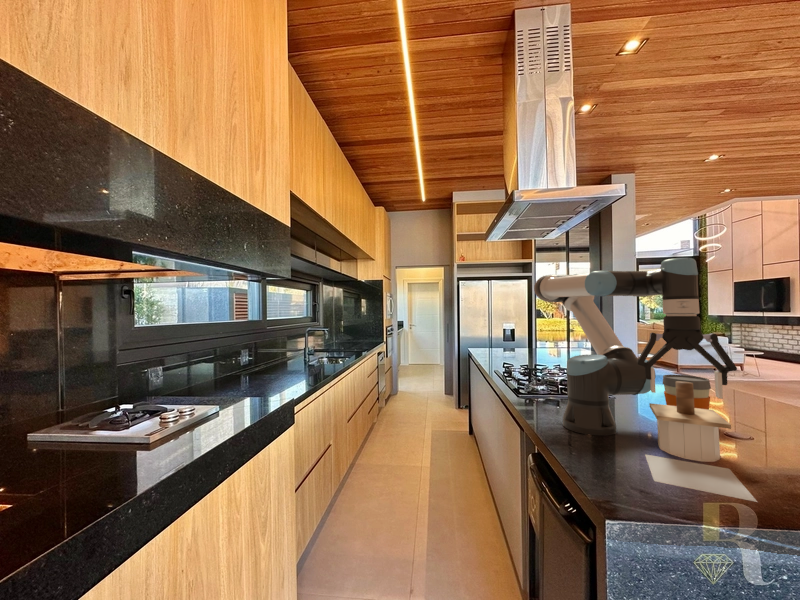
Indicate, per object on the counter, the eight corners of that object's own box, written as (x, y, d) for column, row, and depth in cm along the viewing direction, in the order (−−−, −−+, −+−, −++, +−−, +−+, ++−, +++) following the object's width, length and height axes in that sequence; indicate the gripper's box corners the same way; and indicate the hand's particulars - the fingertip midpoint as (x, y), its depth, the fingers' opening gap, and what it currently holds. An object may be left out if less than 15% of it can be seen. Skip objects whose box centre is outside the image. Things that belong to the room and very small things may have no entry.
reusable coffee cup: (707, 419, 114) (705, 376, 115) (717, 430, 103) (715, 382, 104) (661, 414, 121) (659, 373, 122) (666, 423, 110) (664, 378, 111)
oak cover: (657, 419, 85) (655, 384, 86) (649, 406, 97) (648, 376, 97) (731, 428, 78) (729, 390, 78) (713, 413, 90) (711, 380, 90)
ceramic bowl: (663, 456, 85) (661, 419, 85) (655, 441, 95) (654, 408, 96) (726, 467, 79) (724, 426, 79) (711, 449, 89) (709, 414, 89)
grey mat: (654, 482, 72) (654, 481, 72) (644, 455, 85) (644, 454, 85) (758, 504, 63) (757, 501, 63) (729, 470, 77) (729, 468, 77)
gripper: (626, 315, 92) (629, 392, 91) (751, 315, 79) (756, 403, 78) (624, 315, 98) (627, 386, 97) (739, 315, 86) (744, 397, 85)
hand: (684, 394), depth 88 cm, fingers open, 13 cm apart
